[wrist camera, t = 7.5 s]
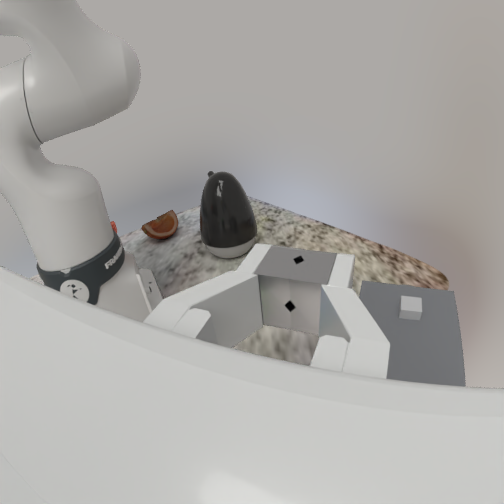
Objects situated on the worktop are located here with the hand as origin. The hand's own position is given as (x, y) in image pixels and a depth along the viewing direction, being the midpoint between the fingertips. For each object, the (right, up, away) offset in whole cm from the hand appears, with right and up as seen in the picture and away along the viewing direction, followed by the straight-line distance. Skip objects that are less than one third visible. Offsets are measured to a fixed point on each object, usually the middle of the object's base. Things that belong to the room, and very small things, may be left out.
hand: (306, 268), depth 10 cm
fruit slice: (-21, +4, +59) cm, 63 cm away
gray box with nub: (+13, -15, +19) cm, 28 cm away
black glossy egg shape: (-5, +1, +50) cm, 50 cm away
